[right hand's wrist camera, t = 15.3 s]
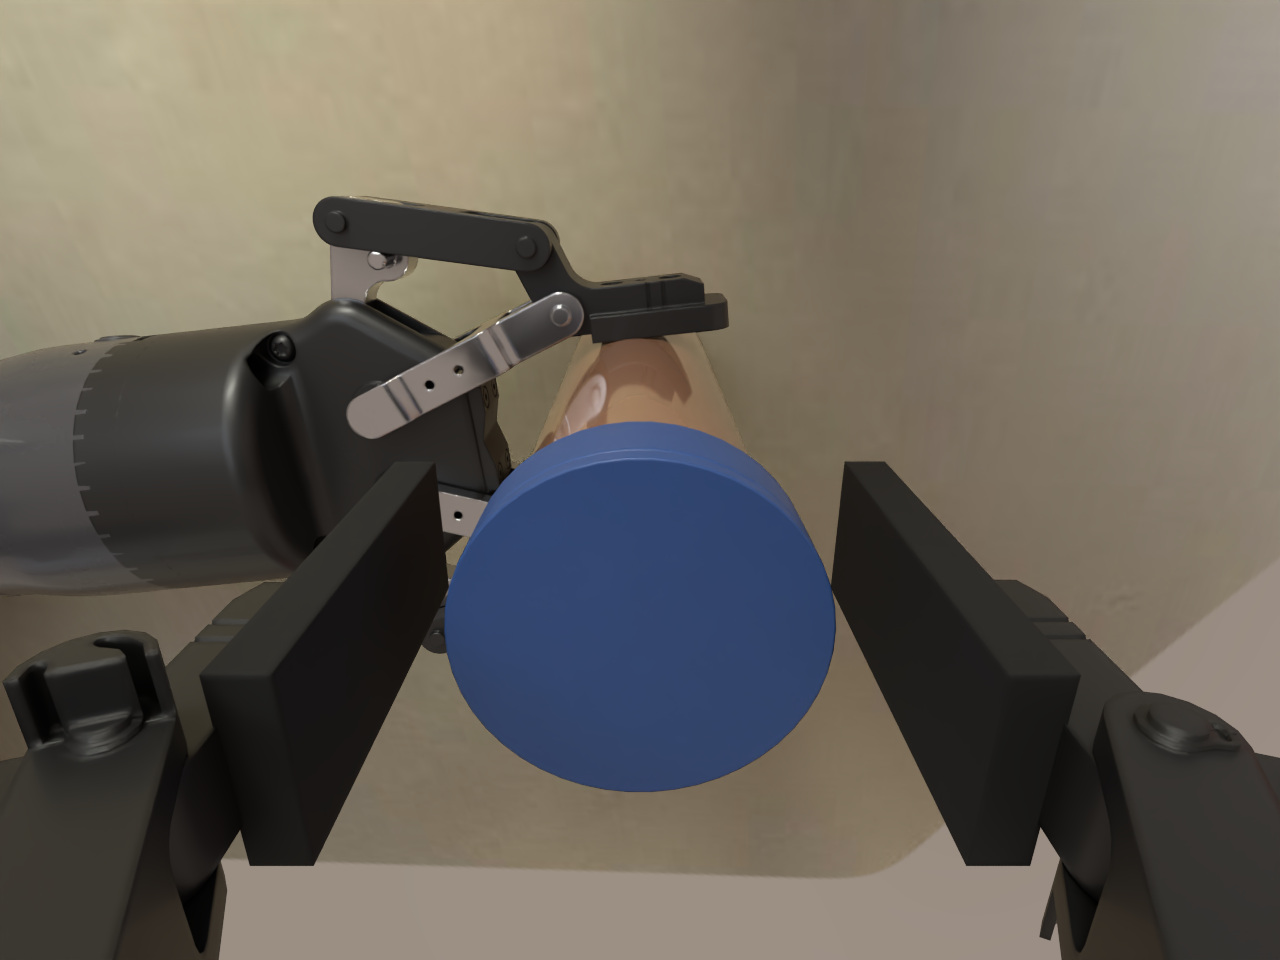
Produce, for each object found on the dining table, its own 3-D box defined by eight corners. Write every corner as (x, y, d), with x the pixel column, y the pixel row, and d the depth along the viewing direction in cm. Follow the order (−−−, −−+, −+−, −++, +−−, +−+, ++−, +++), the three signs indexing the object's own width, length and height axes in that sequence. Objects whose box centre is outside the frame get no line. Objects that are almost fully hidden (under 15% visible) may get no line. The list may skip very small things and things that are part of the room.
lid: (759, 370, 11) (780, 400, 9) (844, 671, 13) (873, 740, 11) (412, 484, 11) (375, 531, 10) (544, 753, 13) (531, 828, 12)
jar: (718, 412, 28) (827, 711, 12) (595, 444, 28) (537, 775, 12) (687, 284, 26) (765, 428, 10) (556, 321, 26) (429, 516, 10)
